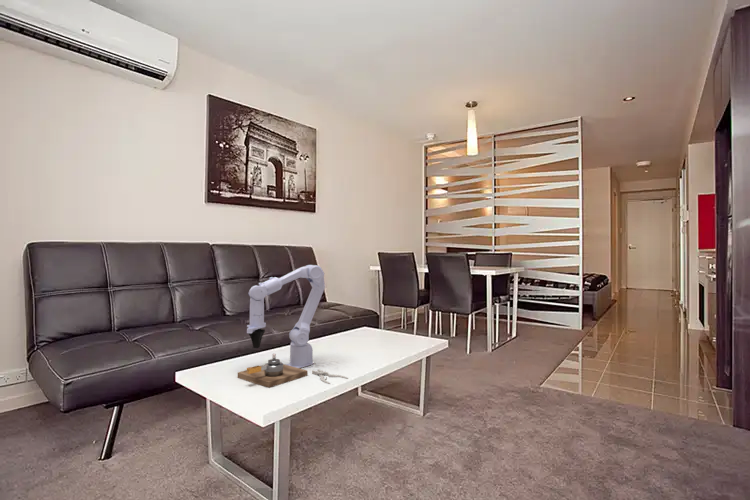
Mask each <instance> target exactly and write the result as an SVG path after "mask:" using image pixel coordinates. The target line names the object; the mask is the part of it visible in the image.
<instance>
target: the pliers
mask: <svg viewBox="0 0 750 500" xmlns="http://www.w3.org/2000/svg"><path fill="white" fill-rule="evenodd" d="M311 373H312V375H314V376H319V380H320V381H321V382H322V383H324V384H327V385H331V382H329V381H327V380H328V378H342V379H346V380H349V377H347V376H344V375H341V374H334V373H331V374H330V373H329V372H328V371H323V370H321V369H317V370H314V369H313V370H312V371H311Z"/></svg>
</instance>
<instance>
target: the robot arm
mask: <svg viewBox="0 0 750 500" xmlns="http://www.w3.org/2000/svg"><path fill="white" fill-rule="evenodd" d="M303 278H304V279H306V280H307V281H308V282H309V284H310V286H311V290H310V292H309V295H308V297H307V299H306V302H305V304H304V307H303V309H302V310H301V311H302V312H301V314H300V317H299V319H298V321H297V322H296V323H295V324H294V327H293V328H292V329H291V330H290V331H289V334H288V336H289V340H290V344H289V345H290V348H289V355H290V356H289V363H286V364H285V365H288V366H292V367H296V368H300V369H303V368H305V367H308V366H312V365H314V364H315V363H314V362H313V355H314V354H313V346H312V344H310V343H308V342H309V340H310V339H309V338H310V336H309V335H310V331H311V324H312V321H313V319H314V316H315V314H316V310H317V308H318V306H319V303H320V301H321V299H322V295H323V294H324V291H325V289H326V286H325V285H326V284H325V272H324V271H323V269H322V267H321V266H320V265H318V264H317V265H316V264H307V265H304V266H301V267H298V268H295V269H294V270H293V271H290V272H288V273H287V274H285V275H282V276H281V277H276V276H274V277H273V276H271V277H269V279H268V280H266V281H263V282H258V285H252V286H251V287H250V289H249V291H248V296H249V298H250V299H249V324H247V325H246V334H248V335H249V337H250V340H251V343H252V348H253V349H259V348H260V347H261V343H262V338H263V336H264V334H265V332H266V330H265V328H266V327H267V323H266V322H265V303H264V302H265V298H266V296H270V295H272V294H274V293H276V292H278V291H280V290H281V289H282V287H283V286H284V285H287V284H289V283H290V282H293V281H296V280H297V279H303Z"/></svg>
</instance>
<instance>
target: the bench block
mask: <svg viewBox="0 0 750 500" xmlns="http://www.w3.org/2000/svg"><path fill="white" fill-rule="evenodd" d="M264 371H265V370H262V371H260V372H256V373H251V374H248V373H247V369H245V370H242V371H238V372H237V378H238V379H240V380H244V381H247V382H249V383H252V384H256V385H259V386H262V387H265V388H269V389H270V388H273V387H276V386H279V385H282V384H285V383H288V382H292V381H295V380H299V379H301V378H304V377H307V376H309V374H308V372H309V371H308V370H306V369H303V368H296V367H292V366H288V365H286V364H284V363H283V374H282V375H279V376H266V375H265V374H264Z"/></svg>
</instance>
